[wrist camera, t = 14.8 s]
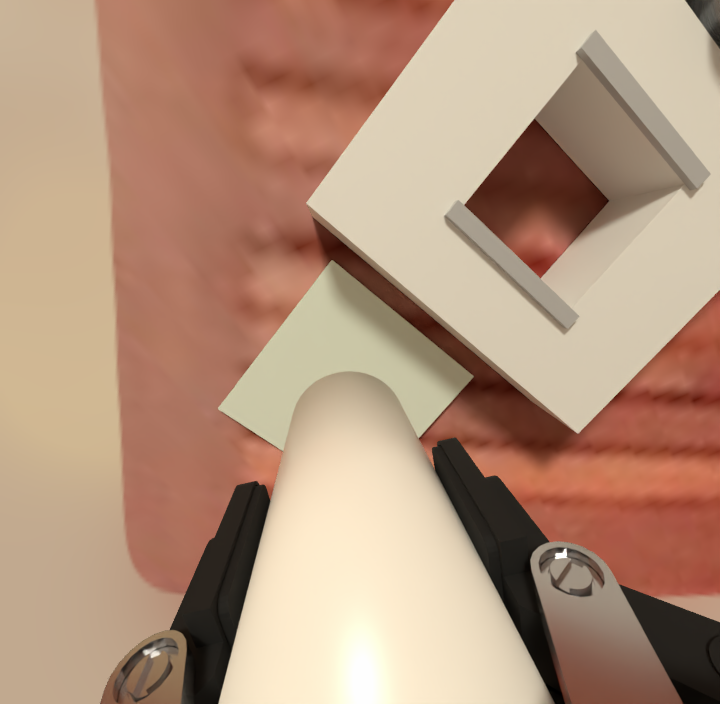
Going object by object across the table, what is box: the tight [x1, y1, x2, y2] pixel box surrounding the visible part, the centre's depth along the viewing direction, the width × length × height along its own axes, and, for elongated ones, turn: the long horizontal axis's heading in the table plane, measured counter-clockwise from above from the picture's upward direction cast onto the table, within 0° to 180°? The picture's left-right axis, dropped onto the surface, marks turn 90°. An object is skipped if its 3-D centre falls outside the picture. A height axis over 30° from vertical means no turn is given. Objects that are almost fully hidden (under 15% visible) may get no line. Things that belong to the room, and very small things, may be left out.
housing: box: [306, 0, 720, 434], centre depth 15 cm, size 16×20×4 cm
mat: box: [218, 260, 474, 451], centre depth 19 cm, size 10×10×1 cm
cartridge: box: [218, 371, 555, 704], centre depth 9 cm, size 5×5×14 cm
